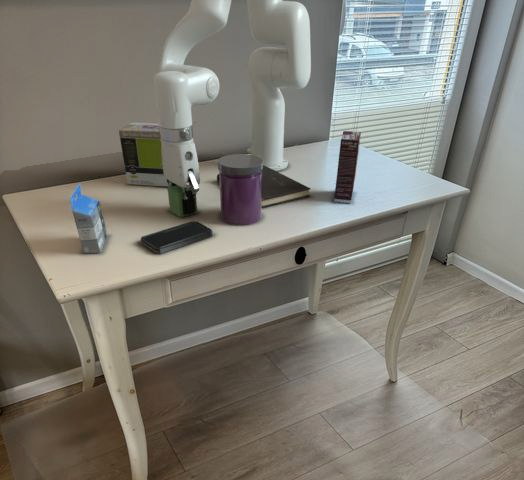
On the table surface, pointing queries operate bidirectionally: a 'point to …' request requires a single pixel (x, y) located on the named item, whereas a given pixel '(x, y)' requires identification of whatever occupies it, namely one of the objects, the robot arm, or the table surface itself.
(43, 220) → the table surface
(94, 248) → the label tape box
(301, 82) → the robot arm
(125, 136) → the tea box
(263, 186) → the hardcover book
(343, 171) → the supplement box
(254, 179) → the jar
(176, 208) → the green block
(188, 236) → the phone
